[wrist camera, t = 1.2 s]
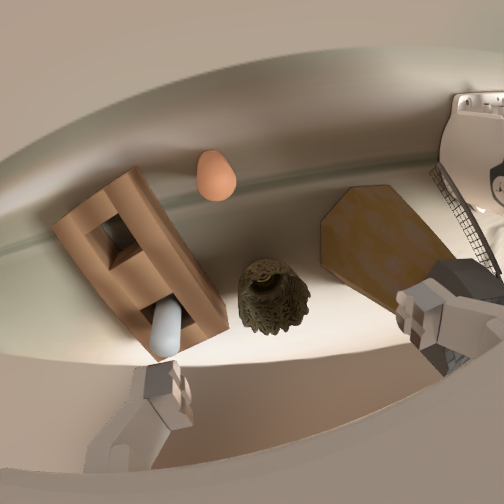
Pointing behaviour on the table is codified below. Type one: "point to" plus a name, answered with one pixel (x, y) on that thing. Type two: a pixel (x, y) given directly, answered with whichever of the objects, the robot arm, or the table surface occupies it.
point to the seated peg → (166, 327)
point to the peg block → (141, 262)
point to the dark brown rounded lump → (271, 297)
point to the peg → (215, 176)
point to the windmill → (402, 255)
